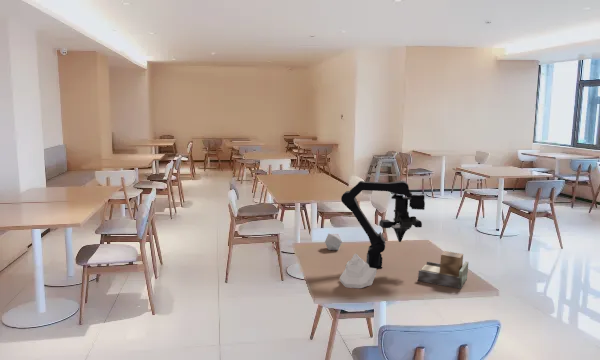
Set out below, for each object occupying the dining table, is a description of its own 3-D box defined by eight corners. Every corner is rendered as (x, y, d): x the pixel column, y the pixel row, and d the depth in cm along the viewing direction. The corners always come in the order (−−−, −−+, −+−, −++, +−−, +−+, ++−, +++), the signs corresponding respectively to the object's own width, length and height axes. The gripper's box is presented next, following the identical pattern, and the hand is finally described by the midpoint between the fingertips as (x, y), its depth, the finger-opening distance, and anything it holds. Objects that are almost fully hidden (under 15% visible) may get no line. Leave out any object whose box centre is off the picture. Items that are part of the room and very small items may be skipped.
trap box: (418, 280, 211) (419, 264, 210) (426, 270, 225) (427, 255, 224) (460, 288, 203) (462, 271, 202) (467, 278, 217) (468, 261, 216)
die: (336, 254, 249) (346, 237, 251) (321, 244, 250) (331, 228, 252) (334, 255, 258) (344, 239, 260) (320, 245, 259) (330, 230, 261)
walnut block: (439, 272, 211) (441, 254, 210) (443, 268, 217) (444, 250, 216) (458, 276, 207) (460, 257, 206) (461, 271, 213) (463, 254, 212)
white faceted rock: (373, 294, 198) (371, 263, 193) (337, 292, 202) (334, 262, 197) (377, 277, 209) (375, 248, 204) (342, 275, 213) (339, 247, 208)
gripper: (388, 212, 213) (386, 247, 215) (428, 211, 216) (426, 245, 219) (379, 207, 224) (378, 240, 226) (417, 207, 227) (415, 239, 229)
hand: (399, 241), depth 225 cm, fingers closed
